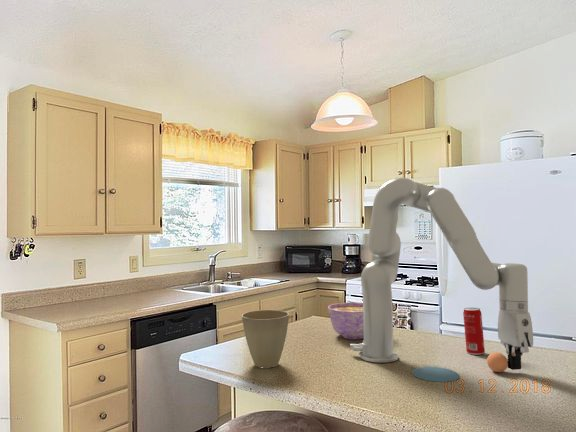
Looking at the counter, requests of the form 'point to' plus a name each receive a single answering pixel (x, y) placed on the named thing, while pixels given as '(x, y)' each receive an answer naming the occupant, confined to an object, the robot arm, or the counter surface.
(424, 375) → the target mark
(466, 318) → the beverage can
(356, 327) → the bowl of food
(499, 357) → the ball
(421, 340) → the counter surface
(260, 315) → the plant pot
